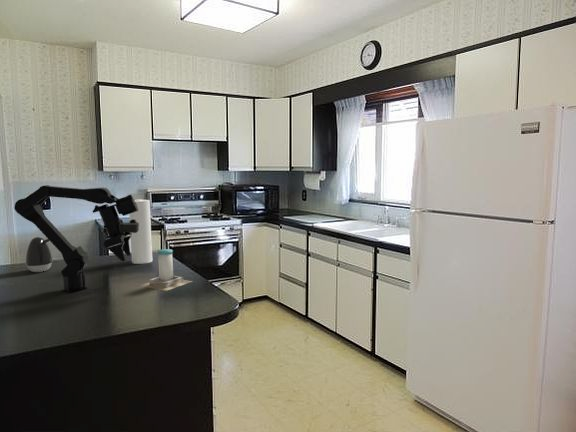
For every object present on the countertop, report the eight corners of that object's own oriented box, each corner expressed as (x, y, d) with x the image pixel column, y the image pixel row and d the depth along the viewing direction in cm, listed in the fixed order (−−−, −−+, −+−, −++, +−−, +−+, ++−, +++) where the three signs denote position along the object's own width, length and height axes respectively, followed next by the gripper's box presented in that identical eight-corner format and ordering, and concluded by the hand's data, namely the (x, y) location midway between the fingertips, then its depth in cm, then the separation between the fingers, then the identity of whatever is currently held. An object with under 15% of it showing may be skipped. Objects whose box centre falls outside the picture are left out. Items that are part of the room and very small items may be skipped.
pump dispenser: (44, 273, 177) (42, 239, 175) (21, 273, 177) (18, 239, 176) (58, 268, 187) (55, 235, 186) (35, 268, 188) (33, 235, 186)
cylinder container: (155, 259, 203) (152, 198, 199) (147, 263, 194) (144, 200, 190) (137, 259, 204) (134, 198, 200) (128, 263, 195) (124, 200, 191)
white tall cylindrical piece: (166, 286, 156) (164, 252, 154) (155, 284, 158) (154, 251, 157) (177, 282, 161) (175, 249, 159) (166, 280, 163) (165, 248, 162)
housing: (166, 292, 150) (165, 285, 150) (139, 286, 157) (139, 280, 157) (192, 282, 162) (192, 276, 162) (167, 278, 169) (166, 272, 169)
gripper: (127, 216, 146) (143, 256, 149) (137, 210, 164) (151, 246, 167) (95, 226, 145) (112, 267, 148) (109, 219, 163) (124, 255, 166)
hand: (126, 258), depth 157 cm, fingers open, 9 cm apart
